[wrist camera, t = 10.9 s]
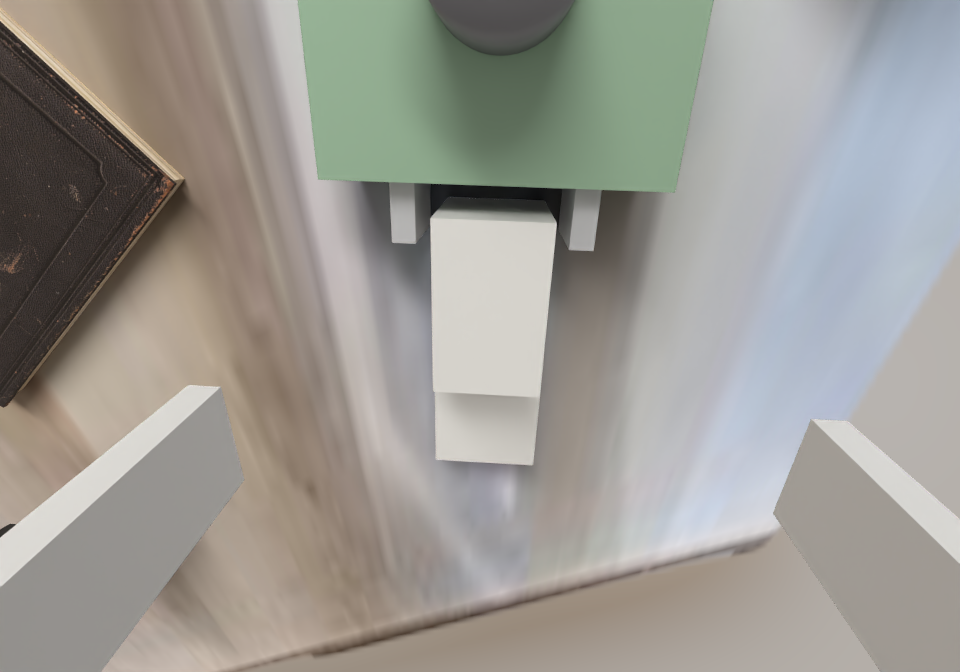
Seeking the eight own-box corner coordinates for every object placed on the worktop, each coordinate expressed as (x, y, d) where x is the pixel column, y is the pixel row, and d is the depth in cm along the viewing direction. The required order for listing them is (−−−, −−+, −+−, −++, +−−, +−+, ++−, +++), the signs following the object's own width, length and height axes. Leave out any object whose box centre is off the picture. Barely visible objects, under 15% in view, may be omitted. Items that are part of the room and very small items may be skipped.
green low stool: (695, -162, 20) (933, -526, 9) (629, 232, 27) (715, 303, 16) (331, -165, 20) (125, -510, 9) (361, 221, 27) (265, 283, 16)
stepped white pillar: (530, 437, 33) (536, 510, 27) (441, 432, 34) (426, 503, 27) (553, 200, 26) (568, 223, 20) (440, 196, 26) (419, 217, 20)
